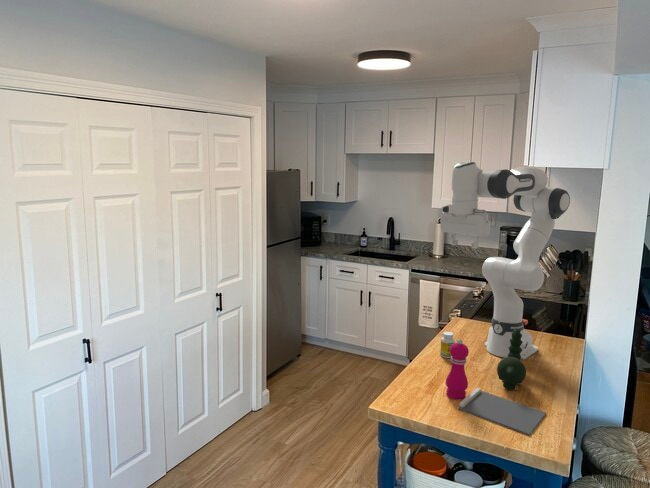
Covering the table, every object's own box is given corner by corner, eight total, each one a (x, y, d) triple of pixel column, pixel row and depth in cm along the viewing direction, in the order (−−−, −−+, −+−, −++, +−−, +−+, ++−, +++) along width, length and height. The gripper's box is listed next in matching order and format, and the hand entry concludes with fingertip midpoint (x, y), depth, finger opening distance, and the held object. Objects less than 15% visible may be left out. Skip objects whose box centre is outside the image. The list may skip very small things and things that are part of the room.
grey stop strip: (459, 408, 152) (459, 402, 152) (477, 392, 163) (477, 387, 163) (462, 409, 152) (463, 404, 151) (480, 393, 162) (480, 388, 162)
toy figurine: (499, 371, 184) (493, 393, 161) (504, 323, 182) (498, 338, 159) (526, 376, 180) (523, 399, 157) (531, 327, 178) (528, 344, 155)
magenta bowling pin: (470, 395, 161) (475, 339, 157) (460, 403, 156) (465, 345, 152) (451, 388, 166) (455, 333, 162) (440, 395, 160) (444, 339, 157)
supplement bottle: (446, 352, 197) (448, 330, 195) (456, 356, 192) (458, 334, 190) (437, 354, 194) (438, 332, 192) (447, 359, 189) (448, 336, 187)
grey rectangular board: (458, 409, 152) (458, 407, 152) (478, 391, 164) (478, 389, 164) (529, 435, 138) (529, 434, 138) (545, 414, 150) (546, 412, 150)
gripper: (494, 209, 162) (494, 249, 164) (449, 206, 179) (449, 242, 182) (482, 210, 159) (481, 251, 161) (437, 207, 176) (437, 244, 178)
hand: (464, 246), depth 172 cm, fingers open, 8 cm apart
